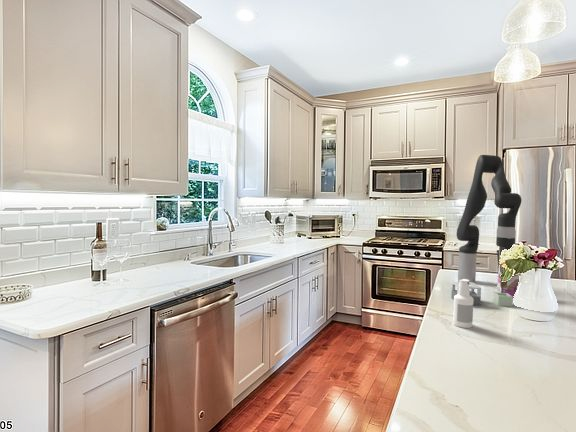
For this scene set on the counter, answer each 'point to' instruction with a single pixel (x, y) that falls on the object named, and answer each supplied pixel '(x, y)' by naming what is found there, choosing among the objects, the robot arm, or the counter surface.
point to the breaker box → (474, 295)
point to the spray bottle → (463, 306)
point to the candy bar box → (508, 284)
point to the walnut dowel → (503, 284)
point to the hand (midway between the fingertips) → (504, 273)
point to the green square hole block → (502, 299)
